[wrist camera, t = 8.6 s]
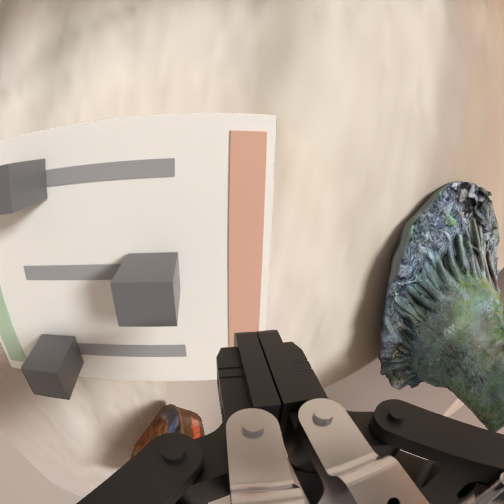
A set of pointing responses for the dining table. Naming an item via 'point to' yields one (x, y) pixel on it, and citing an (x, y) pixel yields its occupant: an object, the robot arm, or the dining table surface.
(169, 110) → the dining table surface
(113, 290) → the block
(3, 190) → the block
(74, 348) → the block
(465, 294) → the green bell-shaped piece
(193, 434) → the tin
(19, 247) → the board
